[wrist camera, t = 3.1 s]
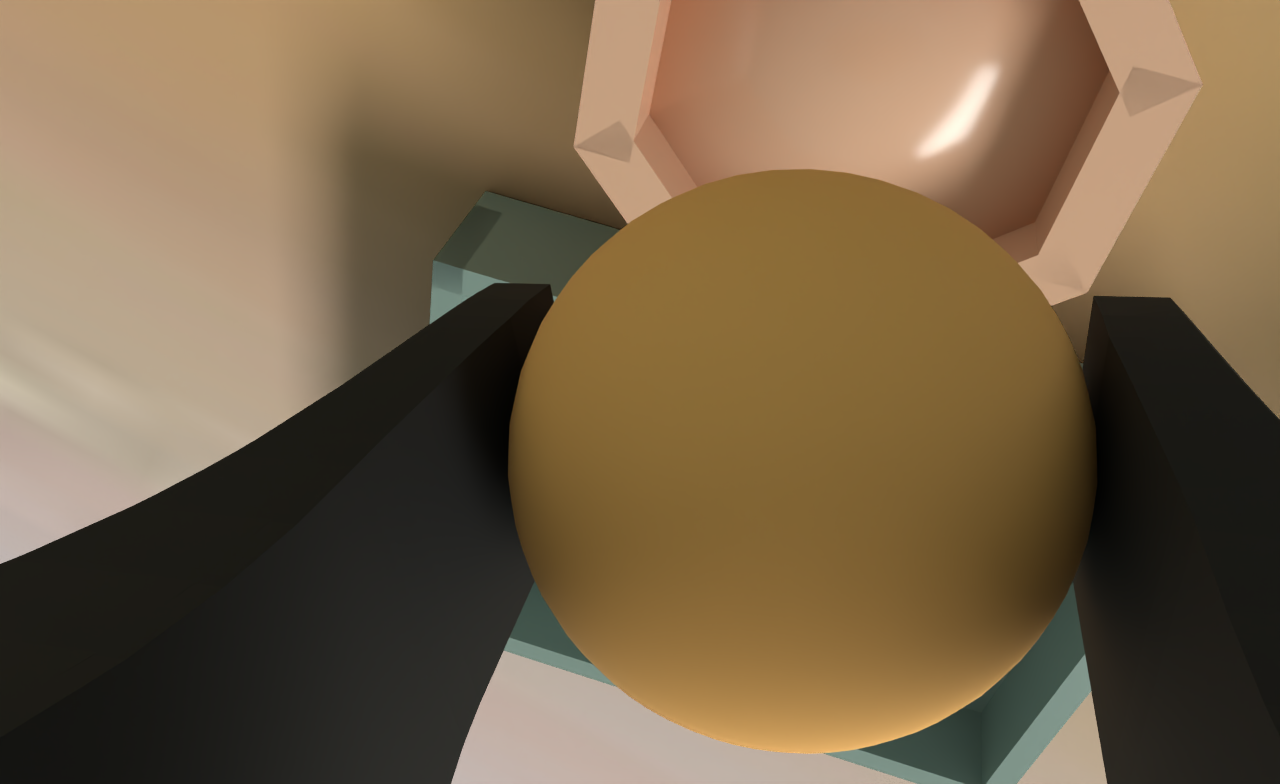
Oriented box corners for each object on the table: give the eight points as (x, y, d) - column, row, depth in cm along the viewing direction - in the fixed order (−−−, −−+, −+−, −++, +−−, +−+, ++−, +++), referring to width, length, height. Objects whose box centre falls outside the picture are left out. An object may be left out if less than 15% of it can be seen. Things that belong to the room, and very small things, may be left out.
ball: (1172, 159, 10) (1300, 568, 6) (964, 527, 13) (958, 943, 9) (638, 13, 10) (427, 306, 6) (569, 406, 13) (403, 757, 9)
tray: (1217, 402, 21) (1244, 499, 19) (995, 713, 28) (996, 809, 26) (485, 190, 22) (432, 260, 20) (453, 542, 29) (412, 621, 27)
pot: (1242, -179, 15) (1309, -107, 12) (1016, 278, 20) (1023, 408, 17) (701, -313, 16) (635, -277, 13) (616, 166, 21) (554, 271, 18)
